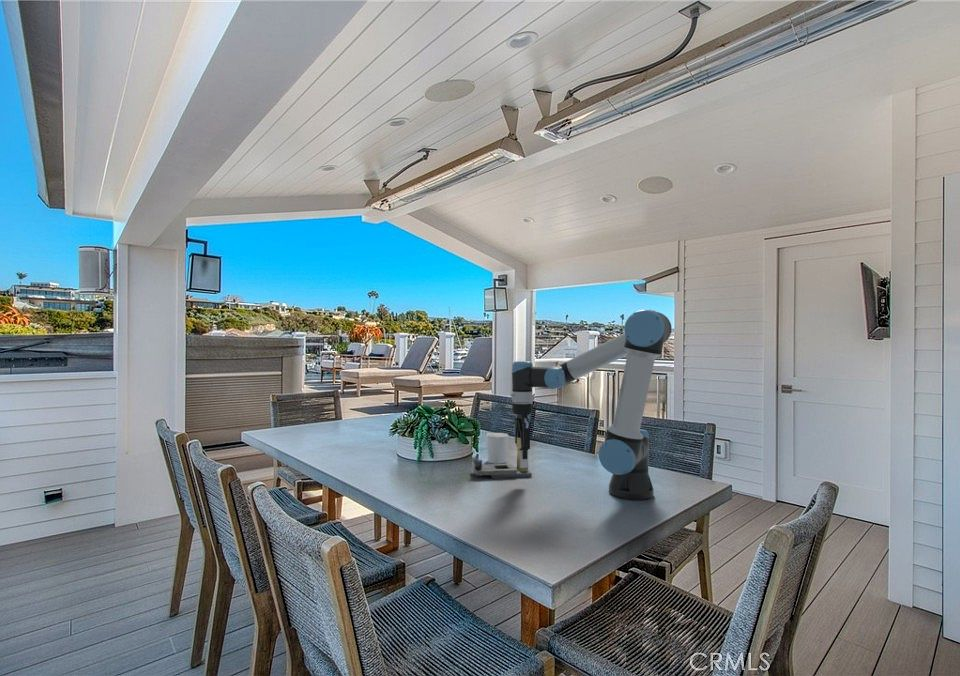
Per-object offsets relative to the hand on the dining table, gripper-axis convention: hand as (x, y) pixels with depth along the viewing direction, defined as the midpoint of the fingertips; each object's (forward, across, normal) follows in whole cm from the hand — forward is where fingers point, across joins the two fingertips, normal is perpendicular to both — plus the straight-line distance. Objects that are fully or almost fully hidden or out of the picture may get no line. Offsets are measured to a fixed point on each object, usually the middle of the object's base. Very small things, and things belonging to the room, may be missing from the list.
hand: (522, 465), depth 178 cm
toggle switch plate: (+7, -15, -4) cm, 17 cm away
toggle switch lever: (+2, 0, 0) cm, 2 cm away
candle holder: (+7, -36, -1) cm, 37 cm away
